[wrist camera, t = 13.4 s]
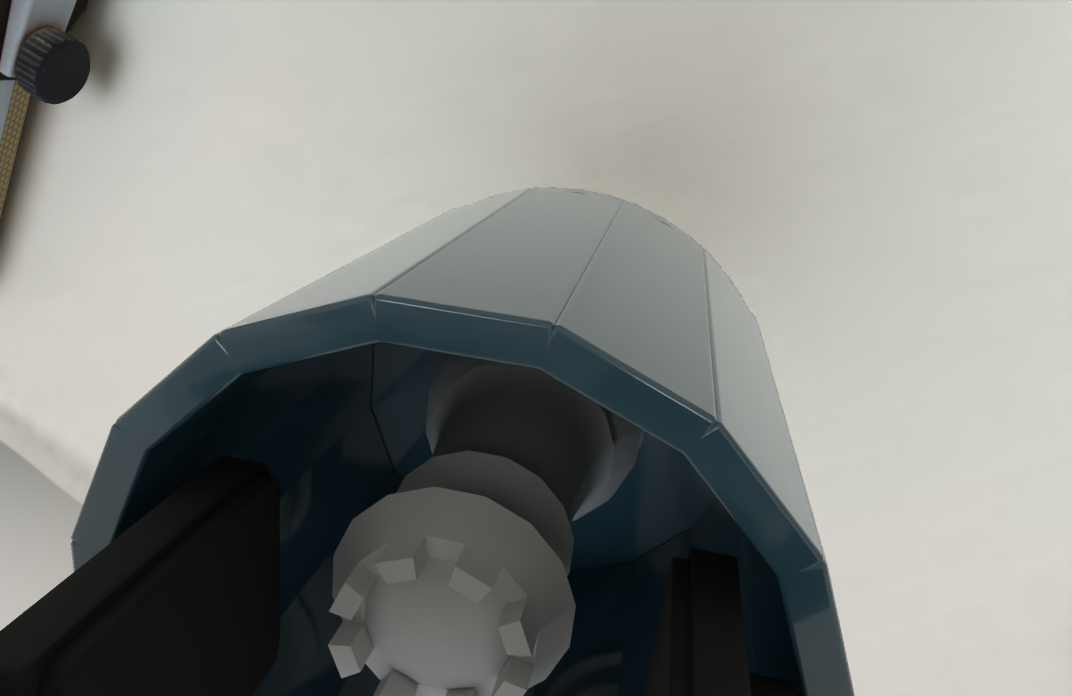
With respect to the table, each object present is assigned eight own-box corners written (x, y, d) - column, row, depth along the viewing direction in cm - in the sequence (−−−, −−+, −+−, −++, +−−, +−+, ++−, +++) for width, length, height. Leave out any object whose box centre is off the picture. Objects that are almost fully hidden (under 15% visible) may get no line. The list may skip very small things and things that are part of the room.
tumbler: (594, 91, 15) (479, 103, 7) (854, 446, 17) (1024, 821, 8) (285, 347, 18) (-61, 572, 10) (524, 630, 20) (400, 1043, 11)
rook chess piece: (644, 292, 16) (605, 482, 8) (653, 493, 17) (626, 814, 10) (430, 299, 17) (217, 478, 9) (454, 491, 18) (286, 782, 10)
